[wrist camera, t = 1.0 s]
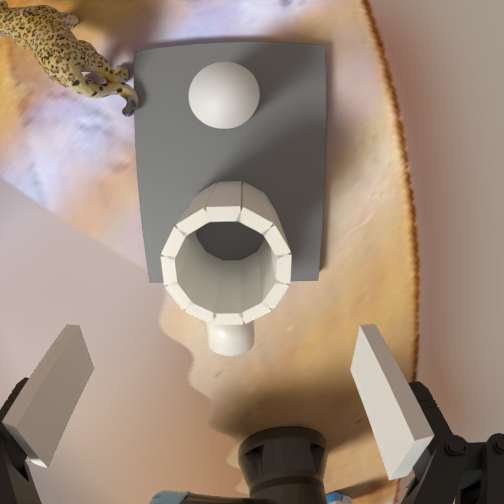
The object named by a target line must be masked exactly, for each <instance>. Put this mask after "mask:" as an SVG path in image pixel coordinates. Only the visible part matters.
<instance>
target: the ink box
mask: <svg viewBox="0 0 504 504" xmlns="http://www.w3.org/2000/svg"><path fill="white" fill-rule="evenodd" d="M326 500H327V504H352V500H351V497H348V496H345V495H343V494H340V493H337V492H332V493H330V494H327V495H326Z"/></svg>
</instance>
